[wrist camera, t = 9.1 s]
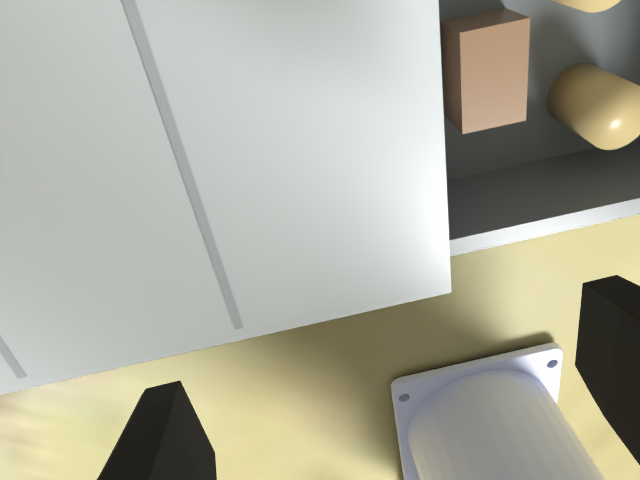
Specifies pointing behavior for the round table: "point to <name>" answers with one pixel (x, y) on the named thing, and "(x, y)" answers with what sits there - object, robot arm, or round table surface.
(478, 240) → the tub
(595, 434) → the round table surface
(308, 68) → the lid
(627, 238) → the round table surface
